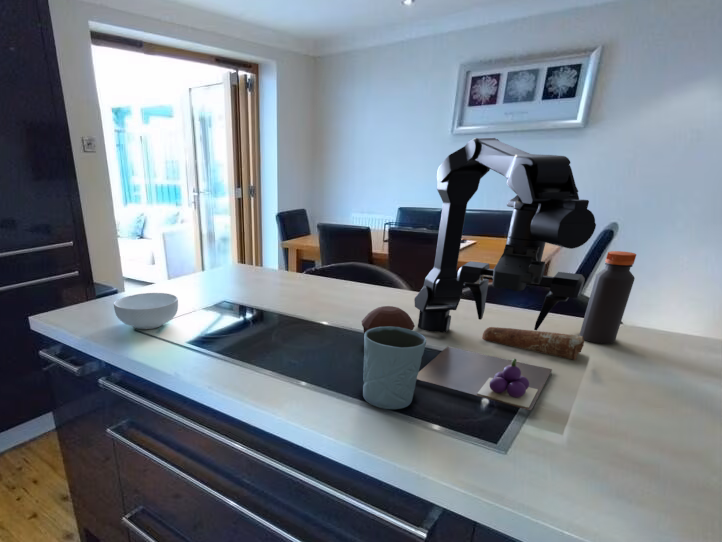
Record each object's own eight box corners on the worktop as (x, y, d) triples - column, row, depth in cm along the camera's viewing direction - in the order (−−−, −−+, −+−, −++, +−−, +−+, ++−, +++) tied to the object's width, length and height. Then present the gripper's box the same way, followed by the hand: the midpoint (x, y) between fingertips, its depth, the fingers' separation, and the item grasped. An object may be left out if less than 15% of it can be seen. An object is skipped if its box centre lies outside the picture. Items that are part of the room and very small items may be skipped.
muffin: (371, 338, 107) (374, 298, 103) (417, 347, 101) (423, 305, 97) (351, 354, 98) (354, 311, 94) (400, 365, 92) (405, 320, 88)
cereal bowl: (192, 320, 122) (190, 296, 120) (149, 339, 110) (145, 312, 107) (148, 312, 131) (145, 288, 128) (103, 328, 118) (99, 303, 115)
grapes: (486, 392, 78) (492, 360, 75) (494, 381, 81) (501, 350, 79) (522, 402, 74) (530, 368, 72) (528, 389, 78) (536, 357, 76)
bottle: (608, 335, 105) (634, 250, 97) (619, 345, 99) (648, 256, 91) (575, 332, 107) (598, 249, 99) (584, 342, 101) (609, 255, 93)
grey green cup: (355, 385, 84) (359, 326, 80) (408, 384, 84) (415, 325, 79) (365, 412, 75) (371, 347, 70) (425, 412, 75) (435, 346, 70)
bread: (576, 366, 89) (583, 341, 87) (478, 344, 102) (482, 321, 99) (582, 357, 94) (589, 332, 91) (487, 337, 106) (491, 314, 104)
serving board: (411, 383, 84) (412, 376, 84) (446, 351, 98) (447, 345, 98) (529, 416, 72) (531, 409, 72) (550, 374, 86) (552, 368, 86)
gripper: (453, 239, 74) (439, 325, 80) (587, 251, 63) (559, 351, 69) (473, 230, 82) (459, 310, 88) (596, 240, 71) (570, 330, 77)
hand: (507, 324), depth 80 cm, fingers open, 9 cm apart
